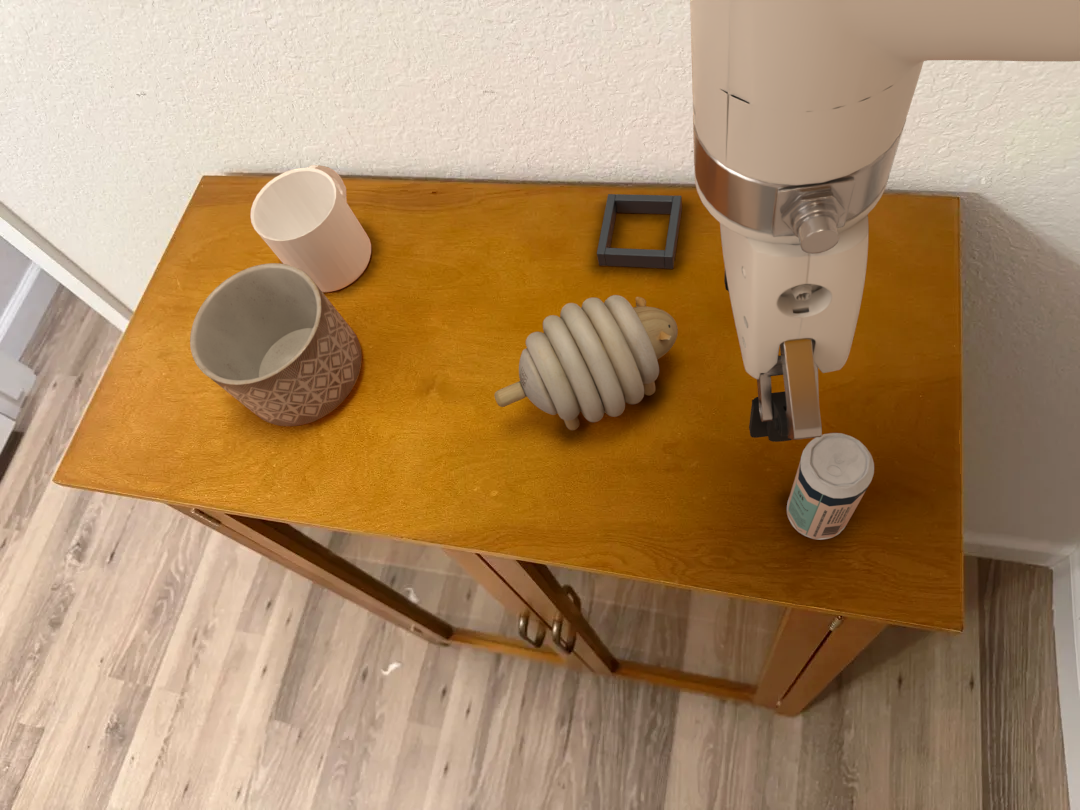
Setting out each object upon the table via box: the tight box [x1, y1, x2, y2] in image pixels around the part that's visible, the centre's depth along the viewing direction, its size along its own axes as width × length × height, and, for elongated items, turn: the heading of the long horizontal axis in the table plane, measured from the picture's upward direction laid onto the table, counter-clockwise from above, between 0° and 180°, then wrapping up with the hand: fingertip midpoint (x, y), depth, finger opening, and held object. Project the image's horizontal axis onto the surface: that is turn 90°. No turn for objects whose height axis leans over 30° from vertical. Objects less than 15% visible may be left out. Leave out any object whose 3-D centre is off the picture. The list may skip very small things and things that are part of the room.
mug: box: [249, 164, 372, 293], centre depth 81 cm, size 12×9×9 cm
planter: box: [189, 262, 363, 427], centre depth 74 cm, size 13×13×10 cm
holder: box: [596, 193, 683, 270], centre depth 77 cm, size 7×7×2 cm
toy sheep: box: [494, 294, 679, 431], centre depth 66 cm, size 11×17×11 cm, turn 116°
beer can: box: [786, 432, 875, 541], centre depth 57 cm, size 5×5×12 cm
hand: (764, 354), depth 45 cm, fingers open, 9 cm apart
